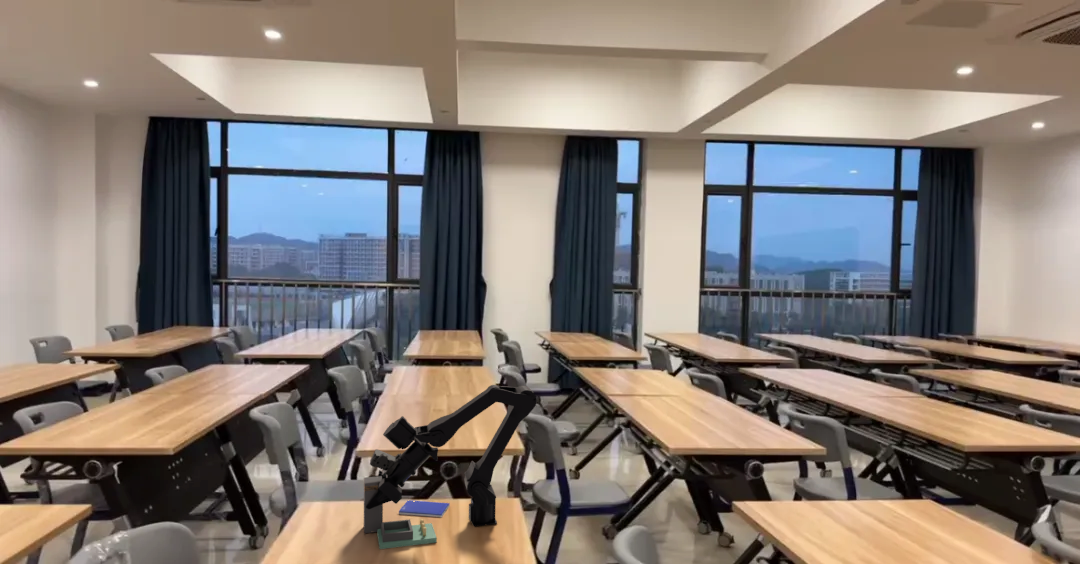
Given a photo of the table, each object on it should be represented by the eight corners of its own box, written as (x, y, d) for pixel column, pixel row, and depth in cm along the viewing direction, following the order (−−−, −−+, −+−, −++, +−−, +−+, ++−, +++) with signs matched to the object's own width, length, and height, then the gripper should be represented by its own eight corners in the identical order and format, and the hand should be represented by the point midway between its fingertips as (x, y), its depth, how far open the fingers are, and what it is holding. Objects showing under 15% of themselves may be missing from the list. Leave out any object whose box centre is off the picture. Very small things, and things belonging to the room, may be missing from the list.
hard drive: (398, 510, 177) (441, 513, 176) (408, 499, 185) (449, 502, 184) (398, 516, 177) (441, 519, 176) (408, 504, 186) (449, 507, 184)
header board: (431, 527, 169) (431, 515, 169) (436, 542, 161) (436, 529, 160) (377, 533, 165) (377, 521, 165) (379, 549, 156) (379, 536, 156)
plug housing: (381, 524, 170) (381, 476, 170) (382, 531, 166) (382, 481, 165) (363, 525, 169) (363, 477, 168) (364, 533, 165) (364, 483, 164)
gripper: (389, 430, 176) (347, 472, 174) (388, 451, 158) (341, 497, 156) (418, 456, 178) (377, 498, 176) (420, 480, 160) (374, 526, 158)
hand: (367, 504), depth 167 cm, fingers closed on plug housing, 5 cm apart
